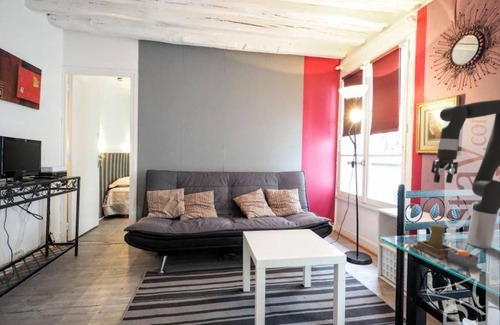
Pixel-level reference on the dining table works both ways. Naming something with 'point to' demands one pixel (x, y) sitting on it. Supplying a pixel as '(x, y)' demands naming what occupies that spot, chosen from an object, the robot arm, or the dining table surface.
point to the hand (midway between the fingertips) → (442, 182)
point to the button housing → (462, 259)
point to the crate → (433, 249)
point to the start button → (463, 252)
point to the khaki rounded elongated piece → (436, 236)
